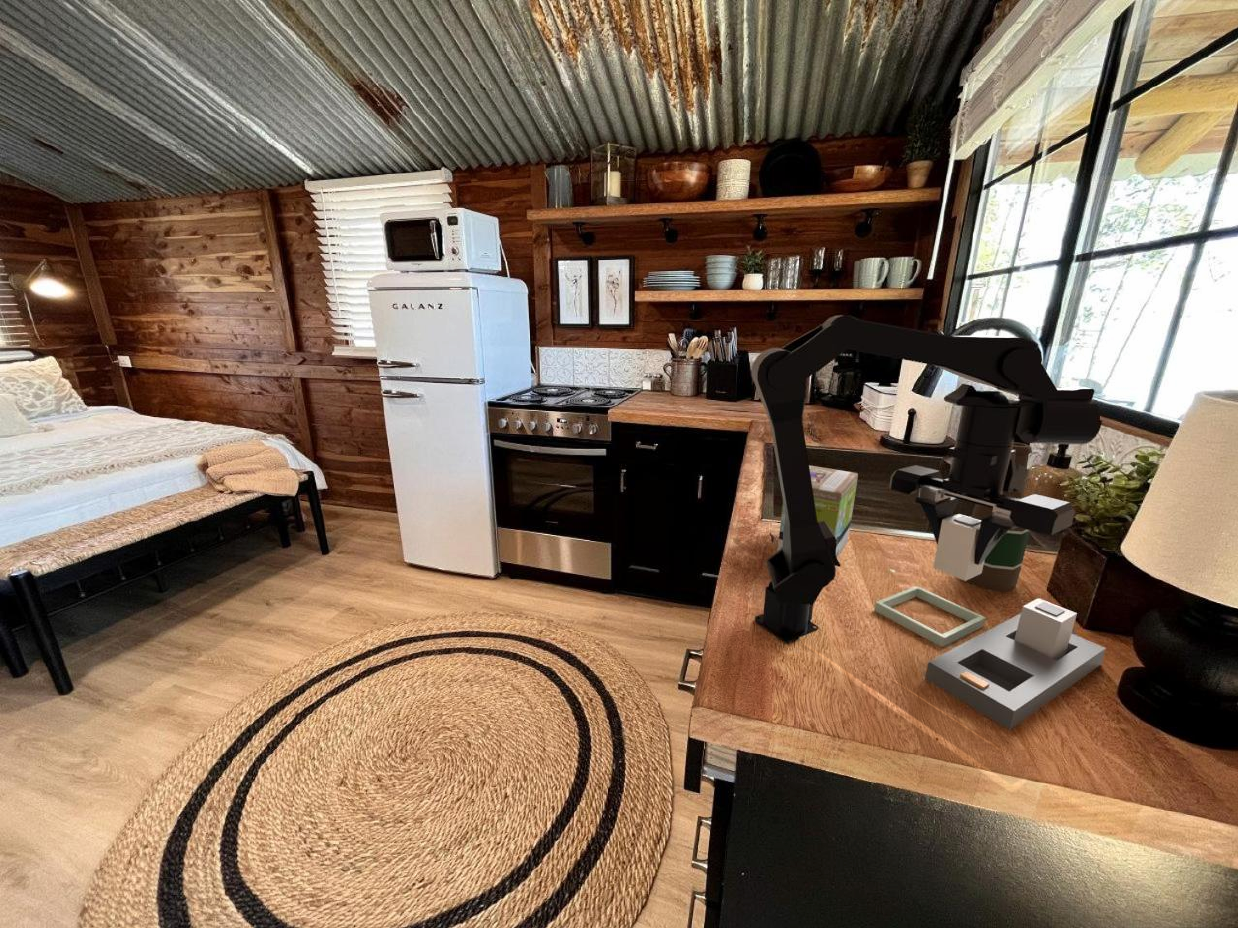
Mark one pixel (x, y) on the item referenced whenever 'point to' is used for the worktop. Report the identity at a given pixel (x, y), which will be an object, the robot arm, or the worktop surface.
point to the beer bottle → (1004, 542)
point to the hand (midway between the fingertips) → (960, 557)
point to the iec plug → (958, 547)
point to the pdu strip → (1010, 673)
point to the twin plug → (1045, 628)
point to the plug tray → (922, 630)
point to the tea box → (831, 502)
